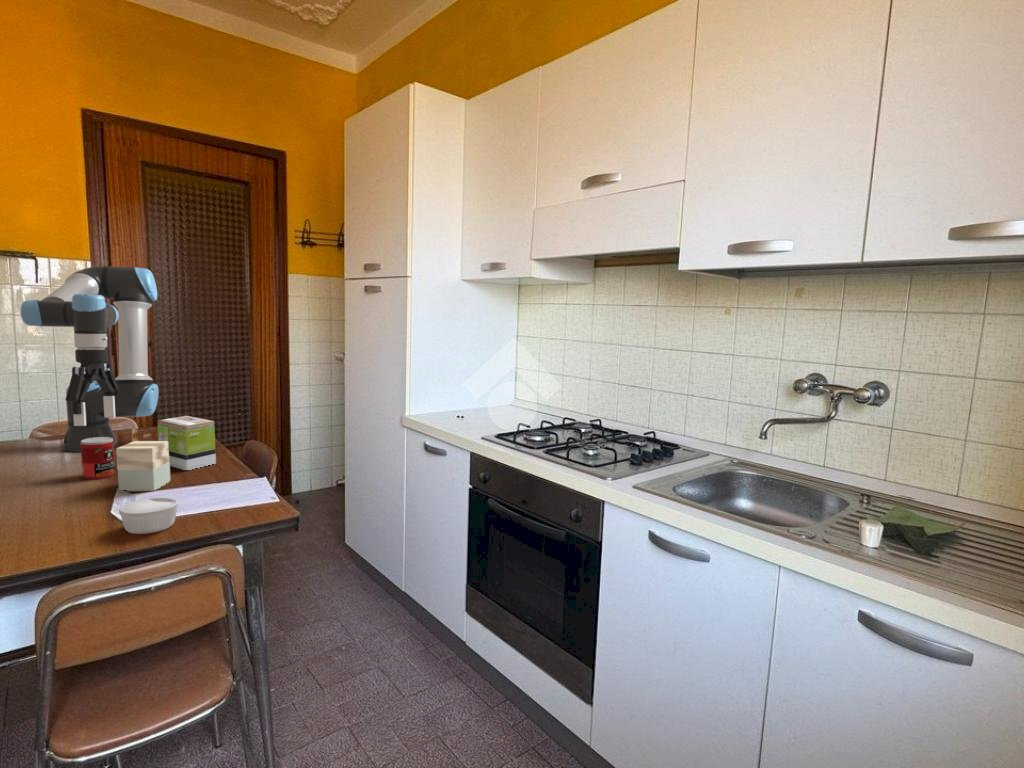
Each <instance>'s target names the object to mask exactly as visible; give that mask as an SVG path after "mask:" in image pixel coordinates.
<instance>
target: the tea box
mask: <svg viewBox="0 0 1024 768" xmlns="http://www.w3.org/2000/svg"><path fill="white" fill-rule="evenodd" d="M215 430H216V428H215V420H210V419H205V418H200V417H195V416H189V415H183V416H178V417H177V416H176V417H171V418H165V419H157V436H158V437H157V438H158V440H157V441H168V447H169V462H170V467H172V468H176V469H179V470H183V471H185V470H190V471H193V470H192V469H194V470H196V469H195V468H198V469H201V468H200V467H203V468H205V467H204V466H207V467H209V466H208V465H211V466H213V465H212V464H214V465H217V455H216V434H215Z"/></svg>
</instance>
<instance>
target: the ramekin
mask: <svg viewBox="0 0 1024 768" xmlns="http://www.w3.org/2000/svg"><path fill="white" fill-rule="evenodd" d="M178 508H179V501H178V500H177V499H175V498H169V497H151V498H150V497H149V498H144V499H139V500H134V501H131V502H128V503H125V504H123V505H121V507H119V509H118V513H119V515H120V516H121V521H122V524H123V528H124V529H125V531H127V532H128V533H130V534H134V535H143V534H145V535H147V534H151V533H152V534H153V533H157V532H161V531H164V530H166V529H169V528H170V526H171V527H172V526H173V525H174V524H175V521H176V517H177V511H178Z"/></svg>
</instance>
